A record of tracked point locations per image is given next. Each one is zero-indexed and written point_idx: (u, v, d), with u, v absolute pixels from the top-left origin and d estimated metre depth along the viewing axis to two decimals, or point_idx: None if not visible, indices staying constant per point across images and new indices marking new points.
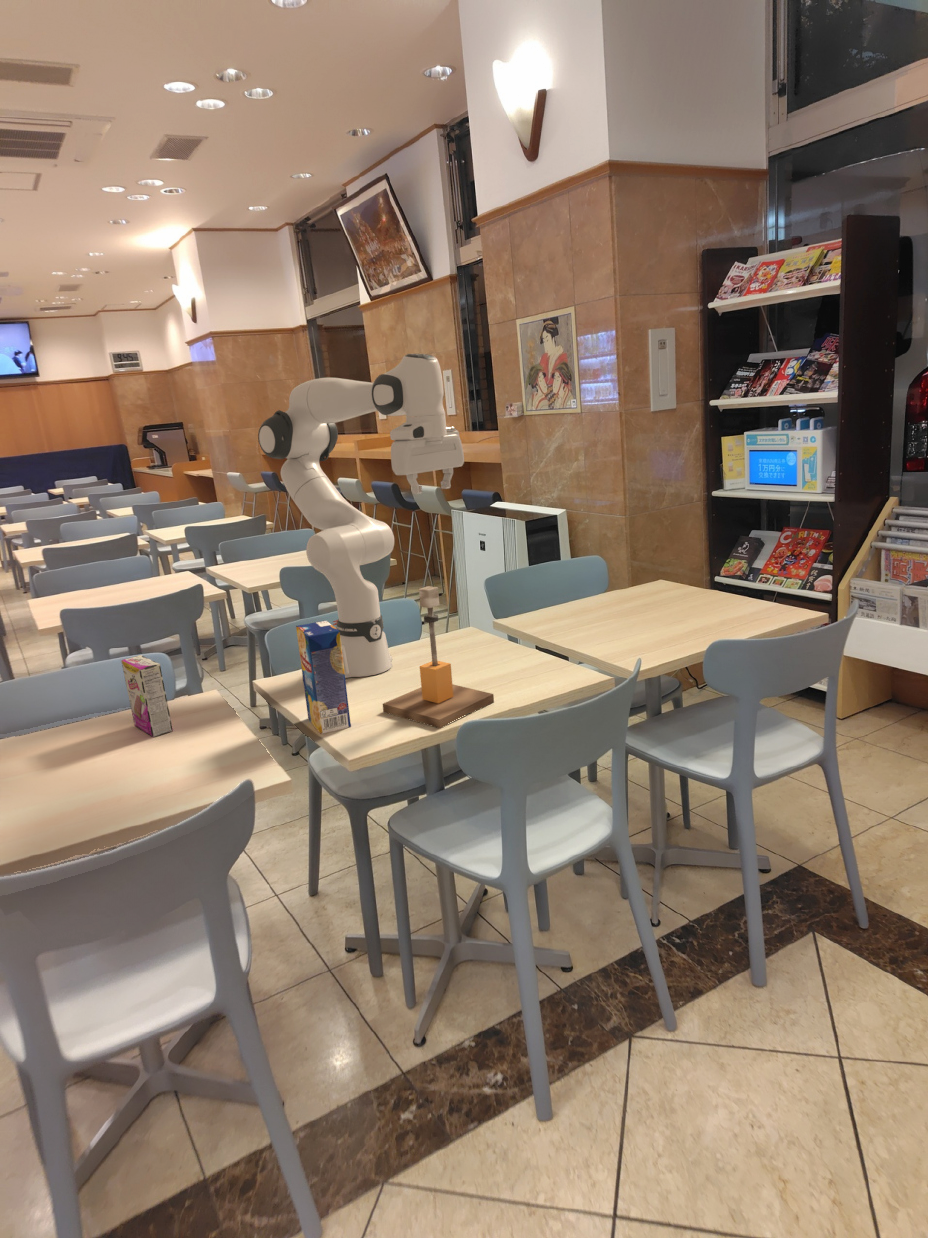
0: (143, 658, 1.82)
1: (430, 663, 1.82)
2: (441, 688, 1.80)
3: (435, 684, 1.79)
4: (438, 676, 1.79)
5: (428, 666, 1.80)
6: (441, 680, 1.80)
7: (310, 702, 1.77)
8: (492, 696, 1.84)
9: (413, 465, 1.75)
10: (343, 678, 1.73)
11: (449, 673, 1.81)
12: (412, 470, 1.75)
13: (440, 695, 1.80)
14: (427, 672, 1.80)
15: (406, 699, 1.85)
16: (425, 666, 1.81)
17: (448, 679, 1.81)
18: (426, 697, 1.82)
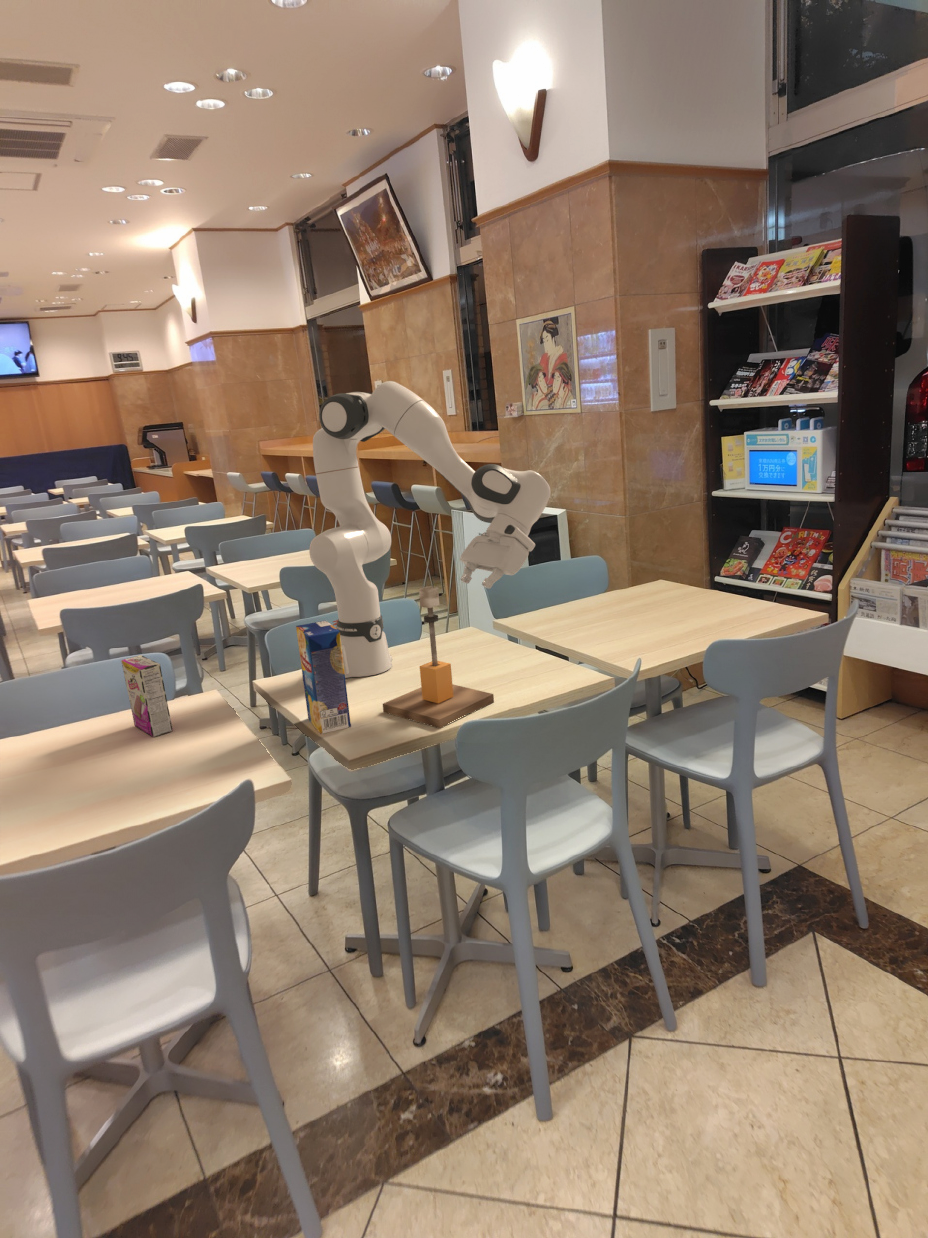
0: (143, 658, 1.82)
1: (430, 663, 1.82)
2: (441, 688, 1.80)
3: (435, 684, 1.79)
4: (438, 676, 1.79)
5: (428, 666, 1.80)
6: (441, 680, 1.80)
7: (310, 702, 1.77)
8: (492, 696, 1.84)
9: None
10: (343, 678, 1.73)
11: (449, 673, 1.81)
12: None
13: (440, 695, 1.80)
14: (427, 672, 1.80)
15: (406, 699, 1.85)
16: (425, 666, 1.81)
17: (448, 679, 1.81)
18: (426, 697, 1.82)
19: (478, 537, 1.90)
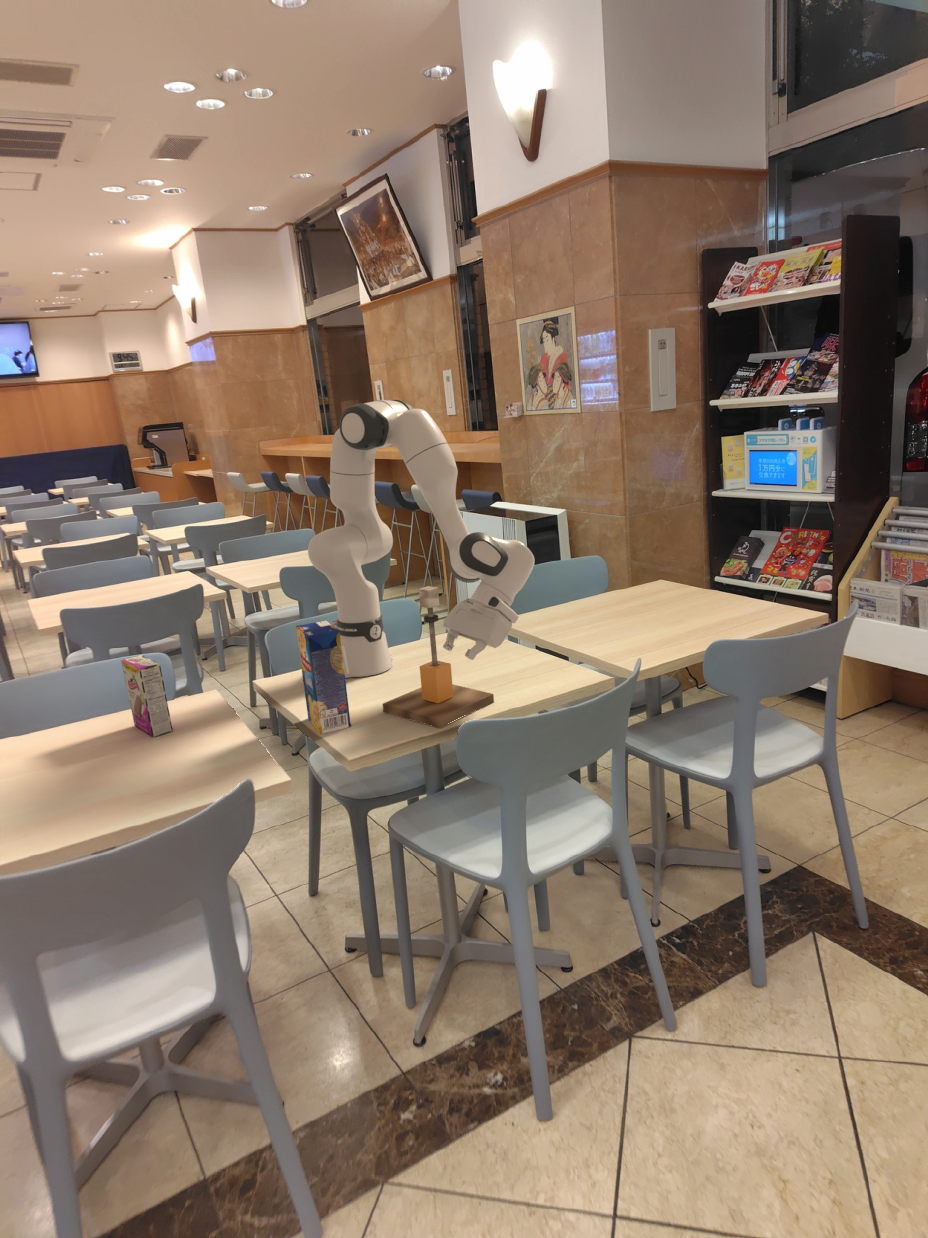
0: (143, 658, 1.82)
1: (430, 663, 1.82)
2: (441, 688, 1.80)
3: (435, 684, 1.79)
4: (438, 676, 1.79)
5: (428, 666, 1.80)
6: (441, 680, 1.80)
7: (310, 702, 1.77)
8: (492, 696, 1.84)
9: None
10: (343, 678, 1.73)
11: (449, 673, 1.81)
12: None
13: (440, 695, 1.80)
14: (427, 672, 1.80)
15: (406, 699, 1.85)
16: (425, 666, 1.81)
17: (448, 679, 1.81)
18: (426, 697, 1.82)
19: (462, 603, 1.91)
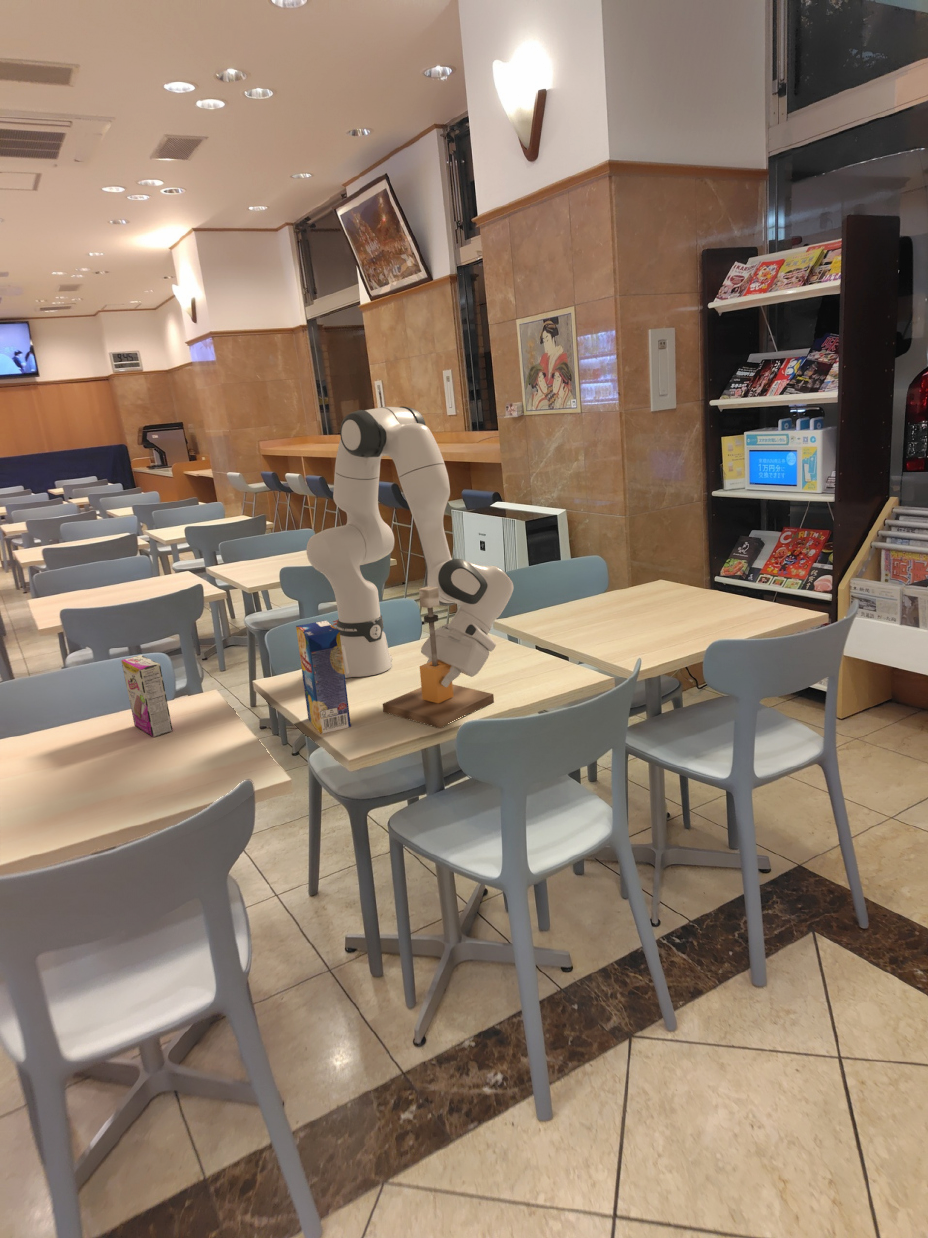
0: (143, 658, 1.82)
1: (430, 663, 1.82)
2: (441, 688, 1.80)
3: (435, 684, 1.79)
4: (438, 676, 1.79)
5: (428, 666, 1.80)
6: None
7: (310, 702, 1.77)
8: (492, 696, 1.84)
9: None
10: (343, 678, 1.73)
11: None
12: None
13: (440, 695, 1.80)
14: (427, 672, 1.80)
15: (406, 699, 1.85)
16: (425, 666, 1.81)
17: None
18: (426, 697, 1.82)
19: (440, 629, 1.89)
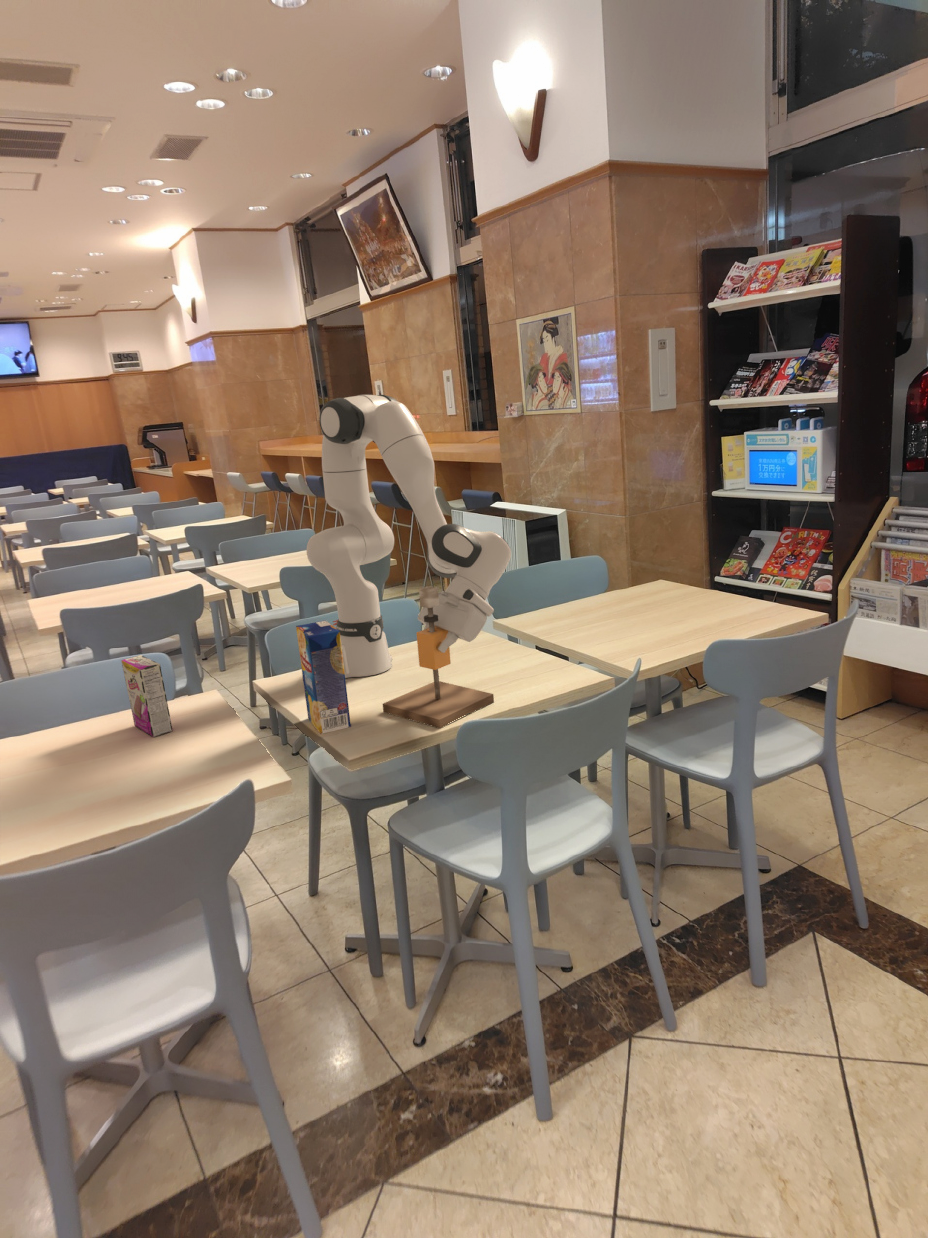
0: (143, 658, 1.82)
1: (427, 630, 1.80)
2: (439, 655, 1.78)
3: (432, 650, 1.77)
4: (435, 642, 1.77)
5: (425, 632, 1.78)
6: None
7: (310, 702, 1.77)
8: (492, 696, 1.84)
9: None
10: (343, 678, 1.73)
11: None
12: None
13: (437, 662, 1.78)
14: (424, 638, 1.78)
15: (406, 699, 1.85)
16: (422, 632, 1.78)
17: None
18: (423, 664, 1.80)
19: None
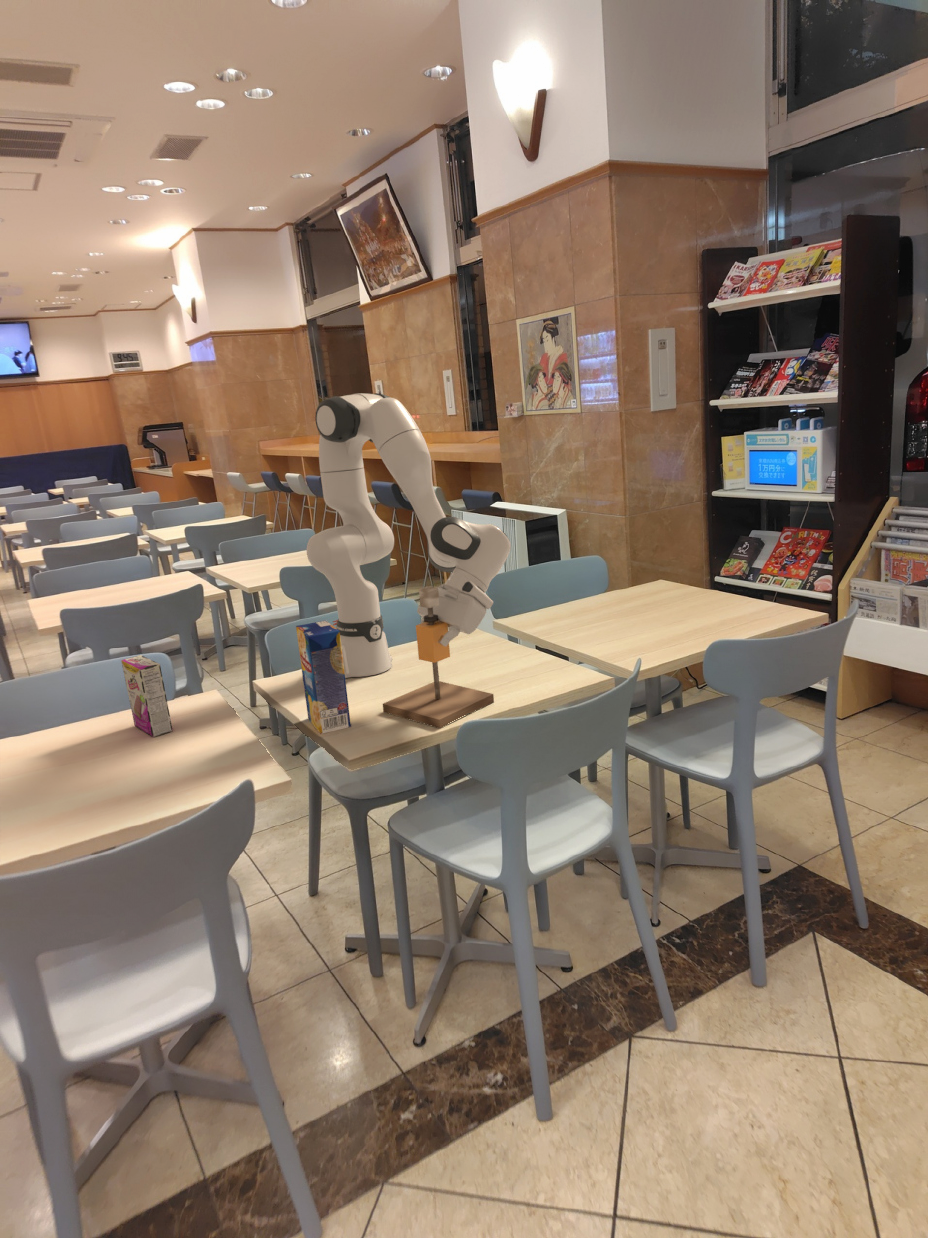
0: (143, 658, 1.82)
1: (426, 622, 1.80)
2: (438, 648, 1.78)
3: (431, 643, 1.76)
4: (434, 635, 1.76)
5: (424, 625, 1.78)
6: (438, 639, 1.77)
7: (310, 702, 1.77)
8: (492, 696, 1.84)
9: None
10: (343, 678, 1.73)
11: (446, 632, 1.79)
12: None
13: (436, 654, 1.78)
14: (423, 631, 1.77)
15: (406, 699, 1.85)
16: (421, 625, 1.78)
17: None
18: (422, 657, 1.80)
19: None
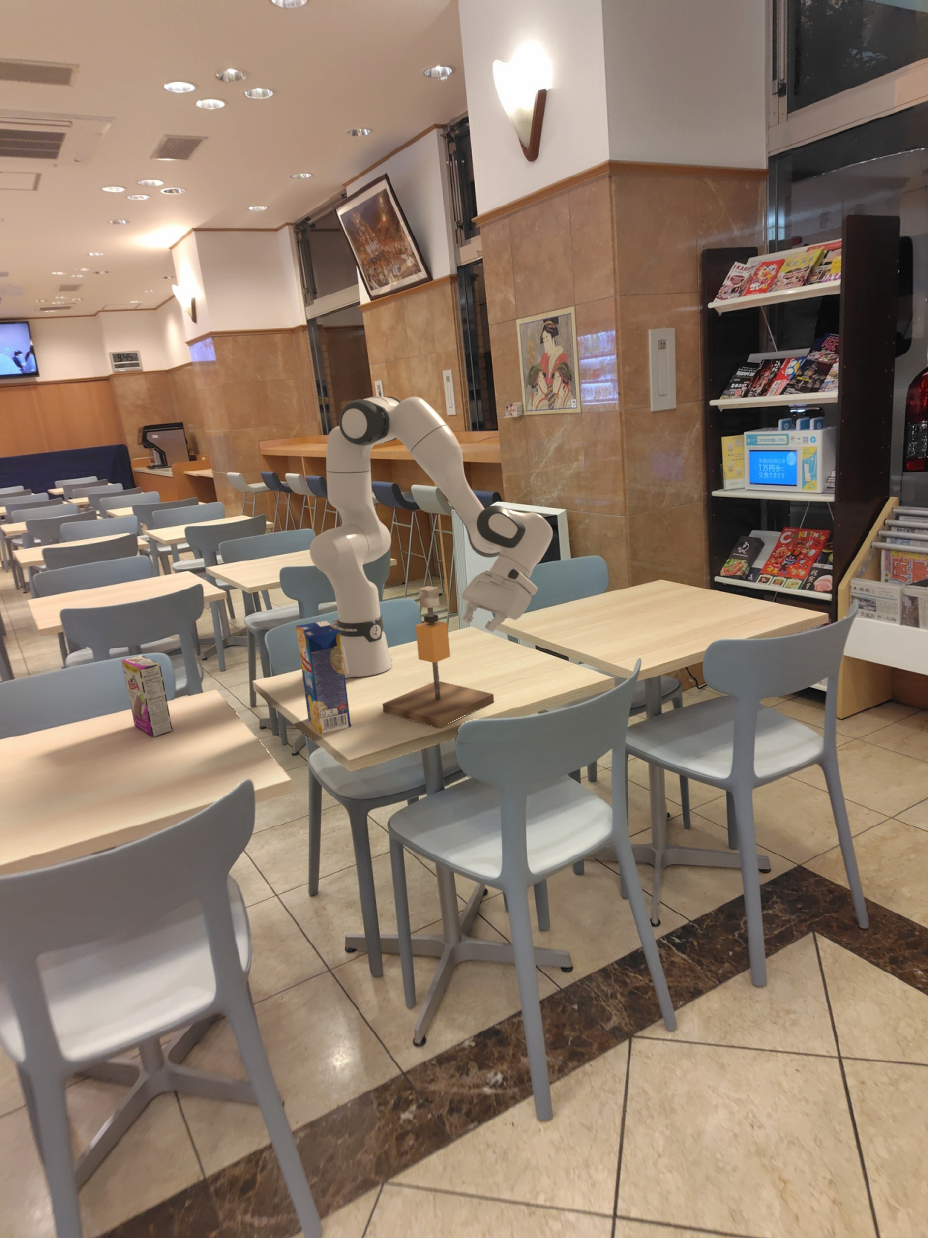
0: (143, 658, 1.82)
1: (426, 622, 1.80)
2: (438, 648, 1.78)
3: (431, 643, 1.76)
4: (434, 635, 1.76)
5: (424, 625, 1.78)
6: (438, 639, 1.77)
7: (310, 702, 1.77)
8: (492, 696, 1.84)
9: None
10: (343, 678, 1.73)
11: (446, 632, 1.79)
12: None
13: (436, 654, 1.78)
14: (423, 631, 1.77)
15: (406, 699, 1.85)
16: (421, 625, 1.78)
17: (445, 638, 1.79)
18: (422, 657, 1.80)
19: (480, 576, 1.93)
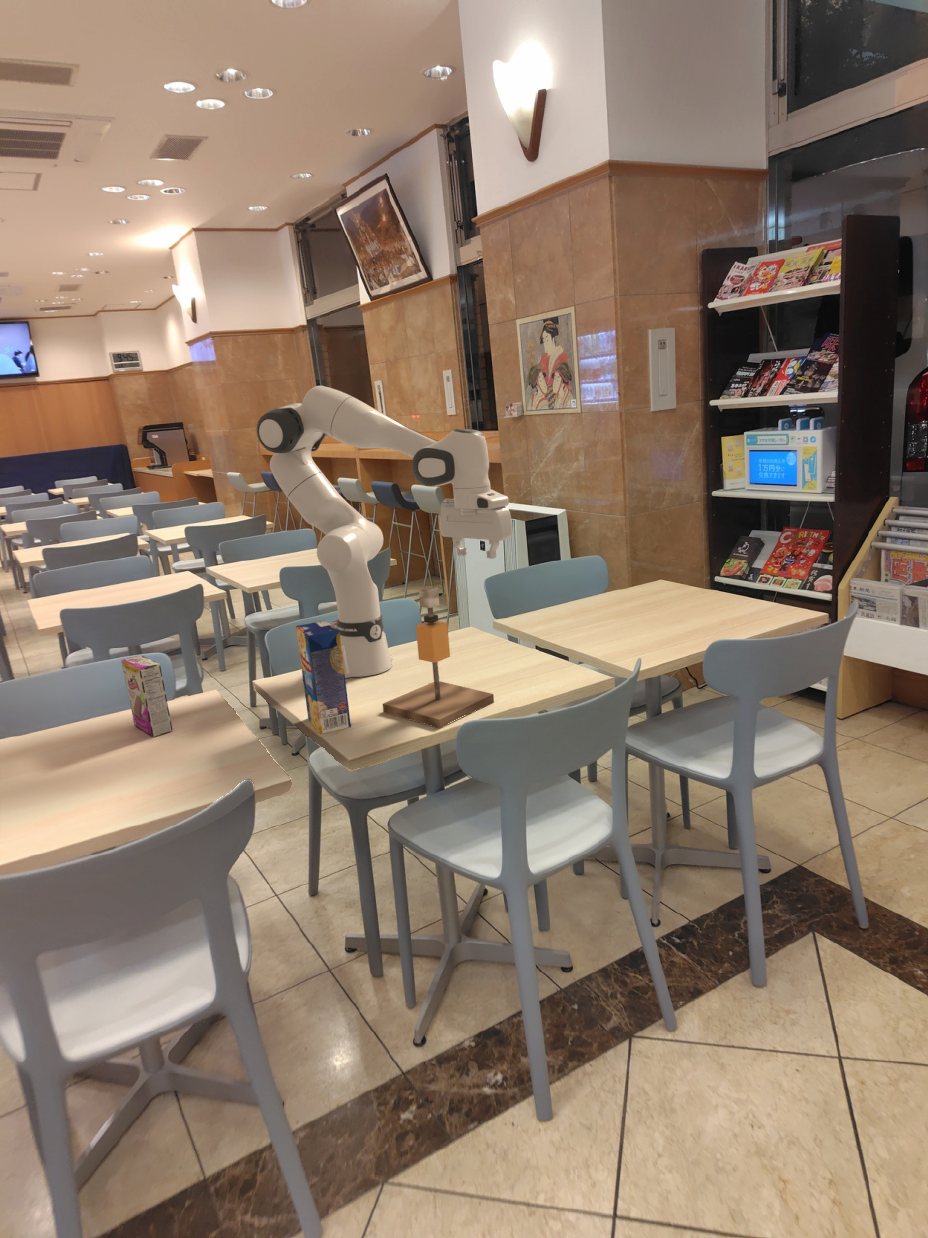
0: (143, 658, 1.82)
1: (426, 622, 1.80)
2: (438, 648, 1.78)
3: (431, 643, 1.76)
4: (434, 635, 1.76)
5: (424, 625, 1.78)
6: (438, 639, 1.77)
7: (310, 702, 1.77)
8: (492, 696, 1.84)
9: None
10: (343, 678, 1.73)
11: (446, 632, 1.79)
12: None
13: (436, 654, 1.78)
14: (423, 631, 1.77)
15: (406, 699, 1.85)
16: (421, 625, 1.78)
17: (445, 638, 1.79)
18: (422, 657, 1.80)
19: (446, 509, 1.92)
